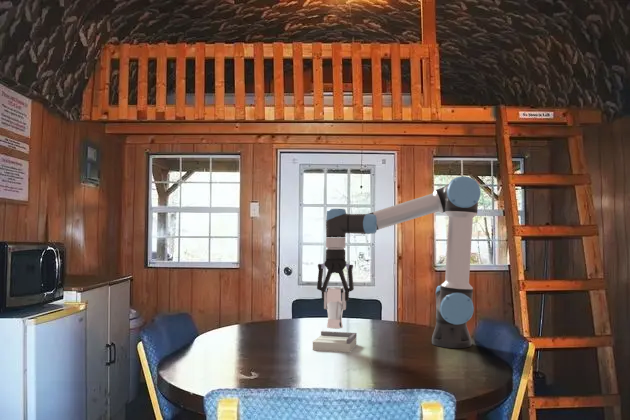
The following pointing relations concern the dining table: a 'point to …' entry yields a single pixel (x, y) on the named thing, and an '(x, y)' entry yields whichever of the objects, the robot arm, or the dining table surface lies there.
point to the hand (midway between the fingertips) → (335, 308)
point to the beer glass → (334, 307)
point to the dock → (335, 341)
